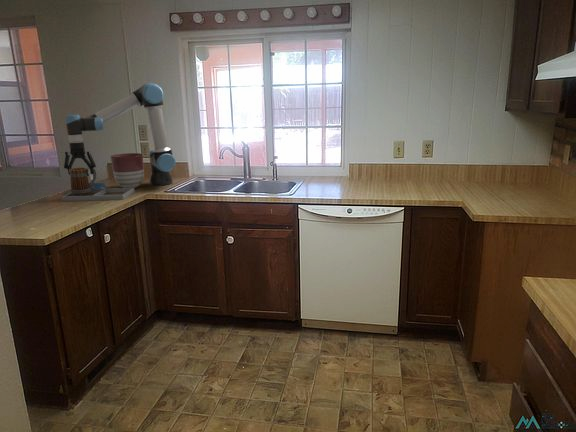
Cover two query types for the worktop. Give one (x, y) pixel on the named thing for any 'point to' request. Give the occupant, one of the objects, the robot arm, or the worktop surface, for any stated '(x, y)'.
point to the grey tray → (100, 193)
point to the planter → (128, 169)
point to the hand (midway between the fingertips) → (82, 179)
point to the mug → (81, 181)
